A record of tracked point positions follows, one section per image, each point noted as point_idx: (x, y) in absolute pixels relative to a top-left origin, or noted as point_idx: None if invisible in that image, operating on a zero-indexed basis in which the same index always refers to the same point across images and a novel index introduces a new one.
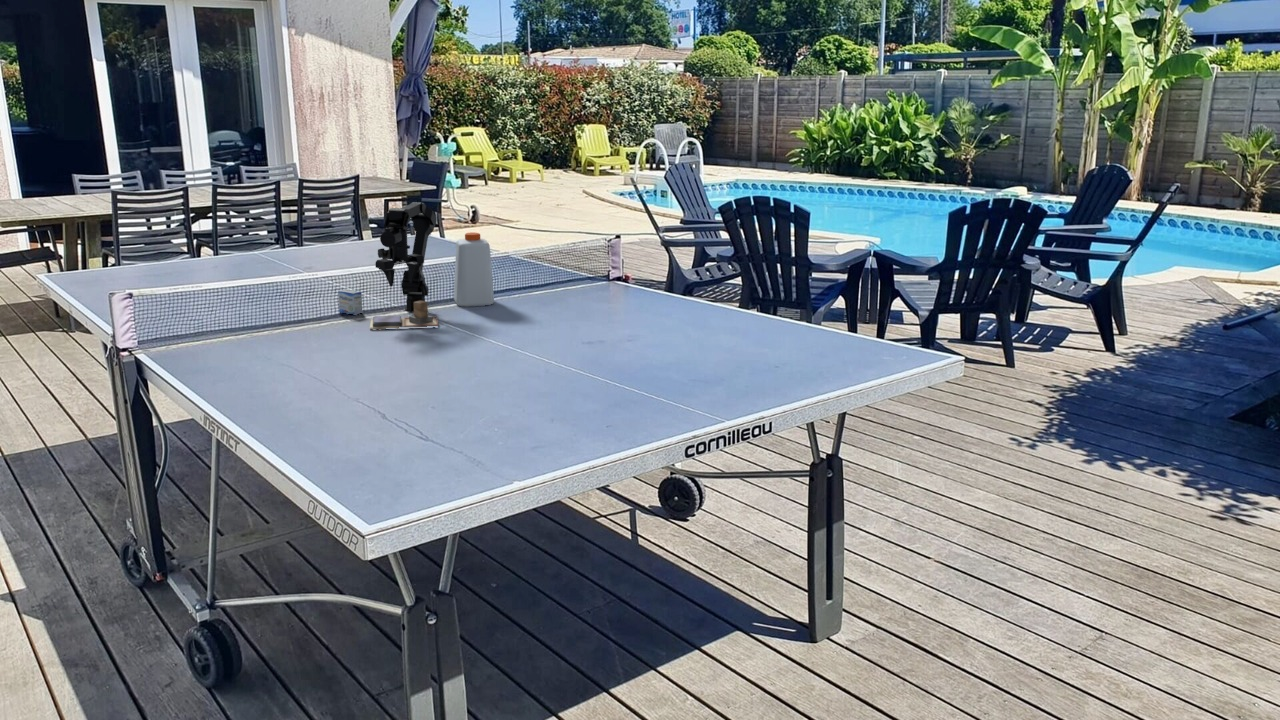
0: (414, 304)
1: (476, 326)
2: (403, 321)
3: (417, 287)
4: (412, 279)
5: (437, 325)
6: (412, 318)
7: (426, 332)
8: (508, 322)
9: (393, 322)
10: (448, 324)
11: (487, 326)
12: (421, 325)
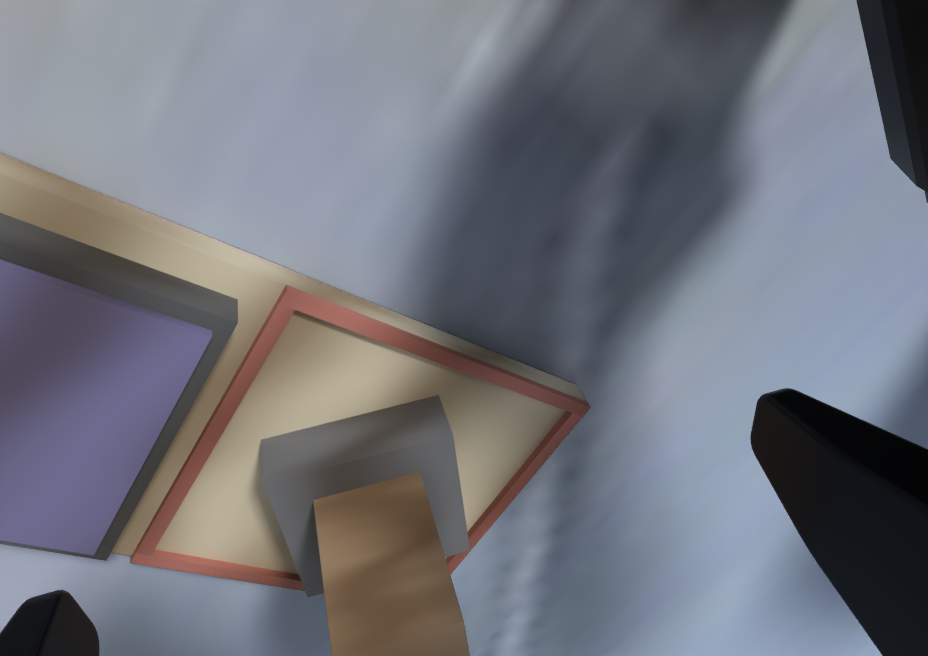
0: (332, 643)
1: (639, 611)
2: (211, 401)
3: (911, 180)
4: (816, 533)
5: None
6: (278, 513)
7: (268, 644)
8: (824, 593)
9: (15, 536)
10: (546, 524)
11: (681, 626)
12: (293, 585)
